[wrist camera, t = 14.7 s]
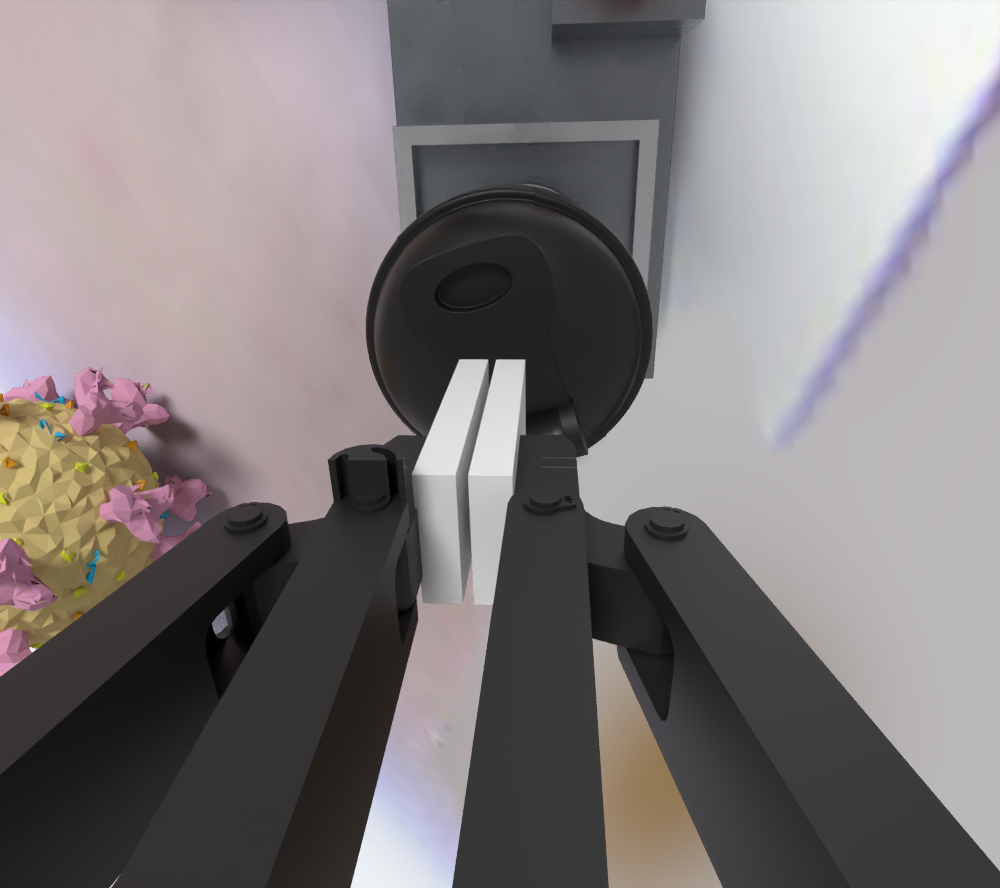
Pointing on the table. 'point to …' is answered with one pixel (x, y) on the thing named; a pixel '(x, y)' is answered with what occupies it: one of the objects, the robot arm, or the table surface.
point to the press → (542, 107)
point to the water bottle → (512, 309)
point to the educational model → (77, 504)
